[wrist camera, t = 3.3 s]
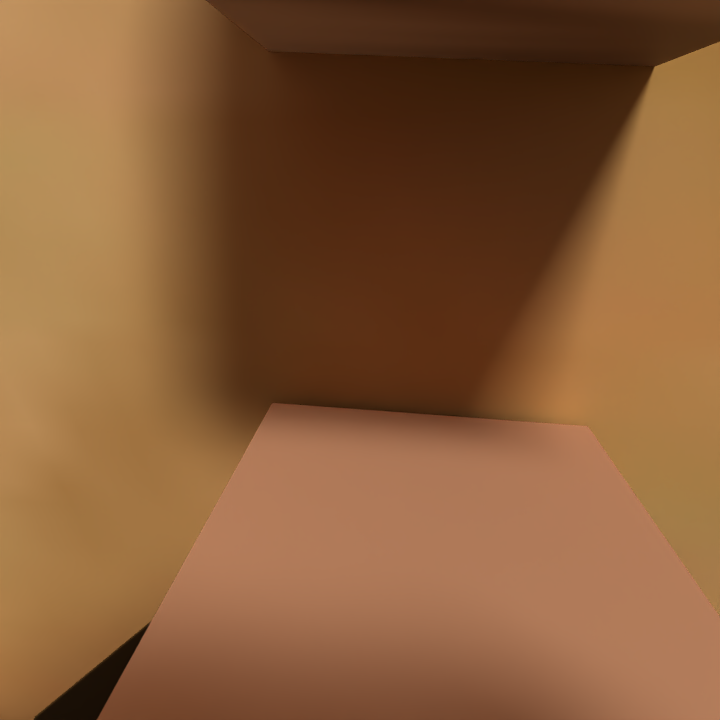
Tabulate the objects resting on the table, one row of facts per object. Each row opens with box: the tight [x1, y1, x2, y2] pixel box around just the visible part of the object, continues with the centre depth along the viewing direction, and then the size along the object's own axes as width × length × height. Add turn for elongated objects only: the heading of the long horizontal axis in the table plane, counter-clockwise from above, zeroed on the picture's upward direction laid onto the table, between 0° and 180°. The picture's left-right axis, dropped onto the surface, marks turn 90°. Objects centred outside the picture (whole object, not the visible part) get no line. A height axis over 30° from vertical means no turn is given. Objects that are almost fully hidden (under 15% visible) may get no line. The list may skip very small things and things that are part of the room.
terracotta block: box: [97, 403, 720, 720], centre depth 7 cm, size 5×5×6 cm
